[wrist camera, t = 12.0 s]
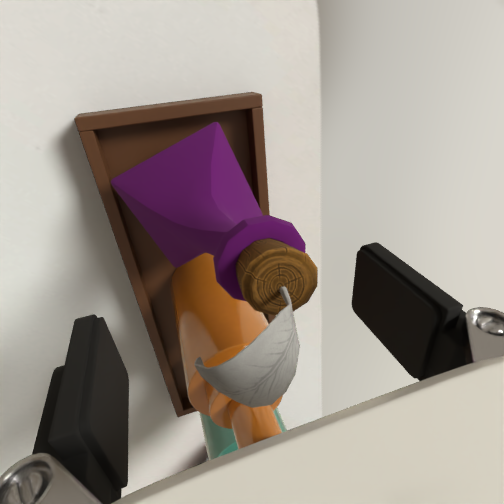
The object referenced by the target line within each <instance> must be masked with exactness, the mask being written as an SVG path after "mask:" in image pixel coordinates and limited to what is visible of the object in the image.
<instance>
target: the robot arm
mask: <svg viewBox="0 0 504 504" xmlns="http://www.w3.org/2000/svg"><path fill="white" fill-rule="evenodd" d="M462 307H463V305H462V304H460V303H459V302H458V301H456V300H455V299H454V298H452V297H451V296H450V295H448V294H447V293H446V292H444V291H443V290H441V289H440V288H439V287H438V286H436V285H435V284H433V283H432V282H431V281H429V280H428V279H427V278H425V277H424V276H423V275H421V274H419V273H418V272H417V271H415V270H414V269H413V268H412V267H410V266H409V265H408V264H406V263H405V262H403V261H402V260H401V259H399V258H398V257H397V256H395V255H394V254H393V253H391V252H390V251H388V250H387V249H386V248H384V247H383V246H382V245H380V244H379V243H371V244H368V245H364V246H362V247H361V248H360V250H359V251H358V252H357V258H356V267H355V277H354V286H353V296H352V308H353V310H354V312H355V313H356V314H357V316H358V317H359V318H360V319H361V320H362V321H363V322H364V323H365V325H366V326H367V327H368V328H369V329H370V330H371V331H372V332H373V334H374V335H375V336H376V337H377V338H378V339H379V340H380V341H381V343H382V344H383V345H384V346H385V347H386V348H387V349H388V350H389V351H390V353H391V354H392V355H393V356H394V357H395V358H396V359H397V361H398V362H399V363H400V364H401V365H402V366H403V367H404V368H405V370H406V371H407V372H408V373H409V374H410V375H411V376H412V377H414V378H417V379H418V380H419V382H416V383H414V384H411V385H408V386H406V387H403V388H400V389H398V390H395V391H392V392H389V393H387V394H384V395H381V396H379V397H376V398H374V399H370V400H368V401H365V402H362V403H360V404H357V405H354V406H352V407H350V408H347V409H344V410H341V411H339V412H336V413H333V414H331V415H328V416H325V417H322V418H320V419H317V420H315V421H312V422H309V423H307V424H304V425H301V426H299V427H296V428H293V429H291V430H288V431H285V432H283V433H280V434H278V435H275V436H272V437H270V438H267V439H264V440H262V441H259V442H257V443H254V444H251V445H249V446H246V447H244V448H241V449H238V450H236V451H233V452H230V453H228V454H225V455H223V456H220V457H217V458H215V459H212V460H210V461H207V462H205V463H202V464H200V465H197V466H195V467H192V468H190V469H187V470H185V471H182V472H180V473H177V474H175V475H172V476H170V477H167V478H165V479H162V480H160V481H157V482H155V483H153V484H150V485H148V486H146V487H144V488H142V489H139V490H137V491H135V492H133V493H131V494H128V495H126V496H124V497H123V498H121V488H124V487H126V486H127V483H128V407H129V379H128V373H127V370H126V368H125V366H124V363H123V361H122V359H121V357H120V354H119V352H118V350H117V347H116V345H115V343H114V340H113V338H112V336H111V334H110V331H109V329H108V327H107V324H106V322H105V320H104V318H103V317H100V318H97V316H96V315H90V316H86V317H82V318H78V319H76V320H75V321H74V325H73V330H72V334H71V339H70V343H69V348H68V352H67V357H66V361H65V365H64V366H60V367H57V368H56V369H55V370H54V372H53V374H52V378H51V382H50V386H49V390H48V394H47V398H46V402H45V406H44V410H43V414H42V418H41V422H40V425H39V429H38V433H37V437H36V441H35V445H34V449H33V453H32V455H30V456H27V457H26V458H24V459H22V460H20V461H18V462H17V463H15V464H14V465H13V466H11V467H10V468H9V469H8V470H7V471H6V472H5V473H4V474H3V475H2V476H1V477H0V504H504V313H503V312H500V311H498V310H495V309H491V308H483V307H478V308H473V309H470V310H469V311H468V312H467V313H465V312H464V311H463V310H462Z"/></svg>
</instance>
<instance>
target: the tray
mask: <svg viewBox="0 0 504 504" xmlns="http://www.w3.org/2000/svg"><path fill="white" fill-rule="evenodd" d="M74 120H75V123H76V126H77V129H78V131H79V135H80V138H81V140H82V143H83V146H84V149H85V152H86V155H87V158H88V161H89V163H90V166H91V169H92V172H93V175H94V178H95V181H96V184H97V187H98V189H99V192H100V195H101V198H102V201H103V204H104V207H105V210H106V212H107V215H108V218H109V221H110V224H111V227H112V230H113V233H114V236H115V238H116V241H117V244H118V247H119V250H120V253H121V256H122V259H123V261H124V264H125V267H126V270H127V273H128V276H129V279H130V282H131V285H132V287H133V290H134V293H135V296H136V299H137V302H138V305H139V308H140V310H141V313H142V316H143V319H144V322H145V325H146V328H147V331H148V334H149V336H150V339H151V342H152V345H153V348H154V351H155V354H156V357H157V359H158V362H159V365H160V368H161V371H162V374H163V377H164V380H165V383H166V385H167V388H168V391H169V394H170V397H171V400H172V403H173V406H174V408H175V411H176V414H177V417H180V416H183V415H186V414H189V413H192V412H195V411H197V410H196V409H195V408H194V407H193V406H192V404H191V403H190V401H189V398H188V393H187V387H186V381H185V375H184V369H183V363H182V357H181V351H180V345H179V339H178V333H177V327H176V321H175V315H174V309H173V303H172V297H171V291H170V283H171V279H172V276H173V274H174V272H175V271H176V269H177V268H178V267H174V266H173V265H172V264H171V262H170V261H169V260H168V259H167V257H166V256H165V255H164V253H163V252H162V251H161V249H160V248H159V247H158V245H157V244H156V243H155V241H154V240H153V239H152V237H151V236H150V235H149V233H148V232H147V231H146V230H145V228H144V227H143V226H142V224H141V223H140V222H139V220H138V219H137V218H136V216H135V215H134V214H133V212H132V211H131V210H130V208H129V207H128V206H127V204H126V203H125V202H124V201H123V199H122V198H121V197H120V195H119V194H118V193H117V191H116V190H115V189H114V187H113V186H112V185H111V180H112V179H113V178H115V177H117V176H118V175H120V174H122V173H124V172H126V171H127V170H129V169H131V168H133V167H135V166H136V165H138V164H140V163H142V162H143V161H145V160H147V159H149V158H151V157H152V156H154V155H156V154H158V153H160V152H161V151H163V150H165V149H167V148H169V147H170V146H172V145H174V144H176V143H177V142H179V141H181V140H183V139H185V138H186V137H188V136H190V135H192V134H194V133H195V132H197V131H199V130H201V129H203V128H204V127H206V126H208V125H210V124H212V123H213V122H218V123H219V124H220V126H221V128H222V130H223V132H224V135H225V137H226V139H227V141H228V143H229V145H230V147H231V149H232V151H233V153H234V155H235V158H236V160H237V162H238V164H239V166H240V168H241V170H242V172H243V174H244V176H245V178H246V181H247V183H248V185H249V187H250V189H251V191H252V193H253V195H254V197H255V199H256V201H257V203H258V206H259V208H260V210H261V212H262V214H263V216H264V215H269V201H268V185H267V170H266V154H265V138H264V122H263V108H262V95H261V94H259V93H254V92H248V93H240V94H232V95H225V96H217V97H209V98H201V99H193V100H185V101H177V102H169V103H161V104H153V105H145V106H138V107H130V108H122V109H114V110H106V111H98V112H90V113H82V114H78V116H76V117H75V118H74ZM263 314H264V316H265V318H266V320H267V322H268V323H269V324H270V323H271V321H272V320H273V319H274V318H275V317H276V315H273V316H272V315H269V314H265V313H263Z"/></svg>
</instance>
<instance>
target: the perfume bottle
mask: <svg viewBox="0 0 504 504" xmlns="http://www.w3.org/2000/svg"><path fill="white" fill-rule="evenodd" d="M111 185H112V186H113V187H114V189H115V190H116V191H117V193H118V194H119V195H120V197H121V198H122V199H123V201H124V202H125V203H126V204H127V206H128V207H129V208H130V210H131V211H132V212H133V214H134V215H135V216H136V218H137V219H138V220H139V222H140V223H141V224H142V226H143V227H144V228H145V230H146V231H147V232H148V233H149V235H150V236H151V237H152V239H153V240H154V241H155V243H156V244H157V245H158V247H159V248H160V249H161V251H162V252H163V253H164V255H165V256H166V257H167V259H168V260H169V261H170V262H171V264H172V265H173V266H174V267H180V266H182V265H183V264H185V263H187V262H189V261H191V260H193V259H194V258H196V257H198V256H200V255H202V254H203V253H208V254H211V255H213V256H214V257H213V260H214V267H215V275H216V281H217V283H218V284H219V285H220V286H221V287H222V288H223V289H224V290H225V291H226V292H227V293H228V294H229V295H230V296H231V297H232V298H234V299H237V300H242V301H247V302H248V303H249V305H250V306H251V307H252V308H253V309H254V310H255V311H259V312H262V313H265V314H269V315H272V316H273V315H277V316H276V317H275V318H274V319H273V320H272V321H271V323H270V324H269V325H268V326H267V327H266V329H265V330H263V331H262V332H261V333H260V334H259V335H258V336H257V337H256V338H255V339H254V340H253V341H252V342H251V343H250V344H249V345H247V346H246V347H245V348H244V349H243V350H241V351H240V352H239V353H238V354H237V355H235V356H234V357H233V358H231V359H229V360H227V361H225V362H223V363H222V364H220V365H218V366H214V367H209V368H208V367H205V366H204V364H203V362H202V360H201V357H199V358H197V359H196V361H195V364H194V365H195V367H196V369H197V370H198V372H199V374H200V376H201V377H202V378H203V379H205V380H206V381H207V382H208V383H209V384H210V385H212V386H213V387H214V388H215V389H216V390H217V391H218V392H220V393H222V394H224V395H226V396H227V397H229V398H231V399H233V400H235V401H236V402H239V403H241V404H244V405H246V406H249V407H252V408H254V407H261V406H268V405H272V404H273V403H274V402H275V401H276V400H277V399H278V398H280V397H281V396H282V395H283V394H284V393H285V392H286V391H287V389H288V387H289V385H290V383H291V381H292V379H293V377H294V376H295V373H296V367H297V361H298V355H299V348H300V345H299V340H298V335H297V330H296V325H295V320H294V315H293V311H295V310H296V309H298V308H299V307H301V306H302V305H304V304H305V303H307V302H308V301H309V299H310V297H311V296H312V294H313V292H314V290H315V289H316V287H317V267H316V266H315V264H314V263H313V261H312V260H311V258H310V257H309V256H308V254H306V253H305V242H304V241H303V239H302V238H301V236H300V235H299V233H298V232H297V230H296V229H295V227H294V226H293V224H292V223H290V222H287V221H284V220H281V219H278V218H275V217H272V216H270V215H264V216H263V214H262V212H261V210H260V208H259V206H258V203H257V201H256V199H255V197H254V195H253V193H252V191H251V189H250V187H249V185H248V183H247V181H246V178H245V176H244V174H243V172H242V170H241V168H240V166H239V164H238V162H237V160H236V158H235V155H234V153H233V151H232V149H231V147H230V145H229V143H228V141H227V139H226V137H225V135H224V132H223V130H222V128H221V126H220V124H219V123H218V122H213V123H212V124H210V125H208V126H206V127H204V128H203V129H201V130H199V131H197V132H195V133H194V134H192V135H190V136H188V137H186V138H185V139H183V140H181V141H179V142H177V143H176V144H174V145H172V146H170V147H169V148H167V149H165V150H163V151H161V152H160V153H158V154H156V155H154V156H152V157H151V158H149V159H147V160H145V161H143V162H142V163H140V164H138V165H136V166H135V167H133V168H131V169H129V170H127V171H126V172H124V173H122V174H120V175H118V176H117V177H115V178H113V179H112V180H111Z"/></svg>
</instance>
